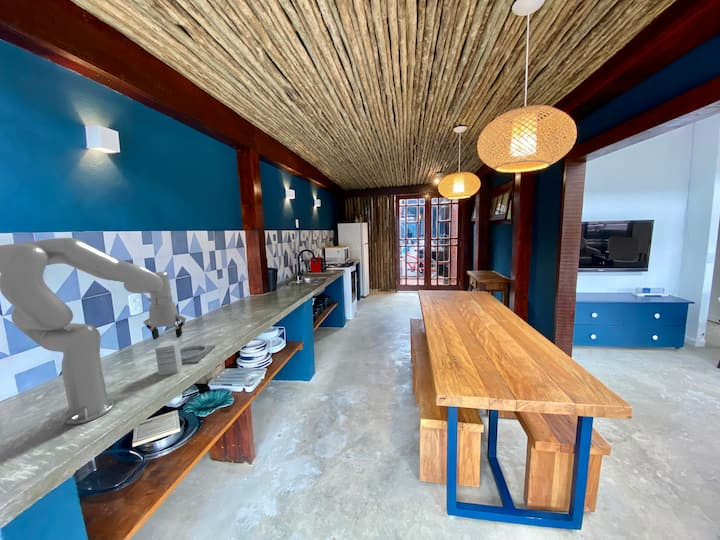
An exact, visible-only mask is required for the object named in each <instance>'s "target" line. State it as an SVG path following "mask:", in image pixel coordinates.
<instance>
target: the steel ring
mask: <svg viewBox="0 0 720 540" xmlns="http://www.w3.org/2000/svg"><path fill="white" fill-rule="evenodd" d="M207 346H208V345H205V344H194V345H193V344H192V345H189V346H185V347H182V348H181V347H180V353H181V352H183V351H186V350H191V349H199V348H201V349H204V350H203V351H202V352H199V353H197V354H194V355H190V356H181V360H189V359H193V358H197V357H199V356H202V355H204V354H205V353H206V352H208V347H207Z"/></svg>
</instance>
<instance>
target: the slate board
mask: <svg viewBox="0 0 720 540" xmlns="http://www.w3.org/2000/svg"><path fill="white" fill-rule="evenodd" d="M206 346H207V347H208V352H206V353H205V354H204V355H202V356H199V357H197V358H193V359H189V360H182V365H191V364H199V363H200V362H201V361H202V360H203V359H204V358H205V357H206V356H207V355H208V354H209V353H210V352H211V351H212V350H213V349H215V348H216V345H215V344H210V345H206ZM203 350H204V349H201V348H199V349H191V350H186V351H183V352H181V356H190V355H194V354H197V353H199V352H202V351H203ZM201 359H202V360H201ZM200 360H201V361H200ZM199 361H200V362H199Z"/></svg>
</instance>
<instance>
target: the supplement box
mask: <svg viewBox="0 0 720 540" xmlns="http://www.w3.org/2000/svg"><path fill="white" fill-rule="evenodd" d="M154 349H155V356H156V363H157V370H158V375H159V376H165V375H166V376H167V375H171V374H172V375H173V374H178V373H179V372H180V370H181V369H182V367H183V364H182V360H181V353H180V349H181V347H180V341H179V340H170V341H164V342H160V343H159V344H158V345H157V346H156V347H155V348H154Z"/></svg>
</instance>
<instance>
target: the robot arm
mask: <svg viewBox="0 0 720 540" xmlns="http://www.w3.org/2000/svg"><path fill="white" fill-rule="evenodd" d="M56 264H58V265H59V264H65V265H67V266H69V267H72V268H74V269H77V270H80V271H81V272H84V273H86V274H88V275H91V276H93V277H95V278H98V279H103V280H106V281H113V282H120V283H123V287H124V290H126V291H127V292H129V293H131V294H149V296H150V297H149V298H148V300H147V301H148V302H150V304H149V309H148V314H149V315H148V317H149V318H147V319H145V320H143V325H144V326H146V327H145V328H147V329H149V331H150V332H151V335H152V339H153V340H154V341H155V340H157V339H158V338H160V334H159V329H158V328H165V327H172V326H173V327H175V330H174V331H175V334H176V335H175V336H176V339H178V338H180V337H181V336H183V329H182V327H183V326H184V325H185V324H186V322H187V321H186V320H187V317H186V316H183V315H180V314H179V313H178V309H177V306H176V303H175V301H173V296H172V290H171V289H172V288H171V284H170V283H171V281H170V277H169V273H168V272H167V271H154V272H152V271H151V270H149V269H147V268H144V267H142V266H140V265H137V264H134V263H131V262H127V261H125V260H123V259H120V258H119V259H118V258H116V257H113V256H112V255H109V254H108V253H106V252H104V251H102V250H99V249H98V248H96V247H94V246H92V245H91V244H88V243H86V242H84V241H83V240H80V239H77V238H72V237H60V238H59V237H58V238H48V239H42V240H34V241H26V242H19V243H18V242H16V243H11V244H10V243H9V244H2V245H0V293H1V295H2V296H3V297H4V299H6V301H7V302H9V304H10V305H12V306H13V307H14V308H13V309H12V311H11V317H10V318H11V321H12V324H13V325H14V326H15V327H16V329H19V330H20V331H21V332H22V333H23V334H24V335H26V336H27V337H28V338H30V339H31V340H32V341H33V342H34V343H35V344H37V345H38V346H40V347H41V348H43V349H45V350H47V351H51V352H58V353H62V354H63V356H62V359H61V374H62V377H63V384H64V390H65V394H66V399H67V405H68V408H67V409H66V414H65V415H64V416H63V417H61V418H60V419H59V420H57V421H56V425H57V426H58V427H61V426H64V425H65V424H66V425H79V424H83V423H87V422H90V421H93V420H95V419H98V418H100V417H102V416H104V415H106V414H107V413H108V412H110V411H112V409H113V408H114V407H115V401H114V400H112V399H109V398H108V395H107V388H106V384H105V383H106V381H105V377H104V370H103V365H102V360H101V339H102V338H101V333H100V330H98V329H97V328H96V327H95V326H93V325H90V324H86V323H75V322H73V323H72V321H73V319H74V313H73V310H72V309H71V308H70V306H69V305H67V304H66V302H64V301H63V300H62V299H61V298H60V297H59V296H58V295H57V294H56V293H55V292H54V291H52V290H51V288H50V287H49V286H48V285H47V284H46V281H45V279H44V274H45V273H44V272H45V270H46V268H47V266H52V265H56Z"/></svg>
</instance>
